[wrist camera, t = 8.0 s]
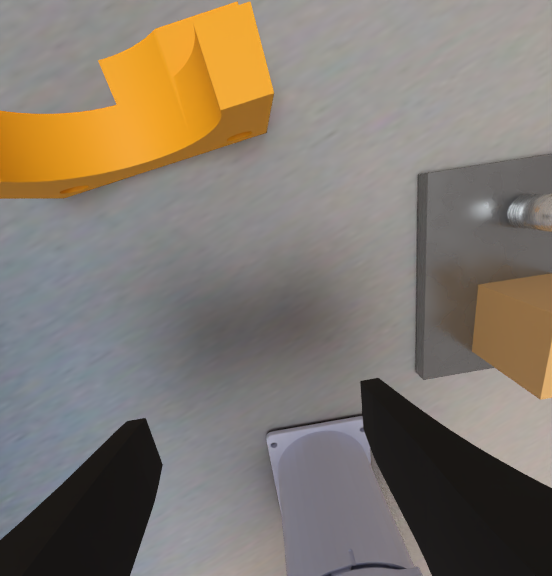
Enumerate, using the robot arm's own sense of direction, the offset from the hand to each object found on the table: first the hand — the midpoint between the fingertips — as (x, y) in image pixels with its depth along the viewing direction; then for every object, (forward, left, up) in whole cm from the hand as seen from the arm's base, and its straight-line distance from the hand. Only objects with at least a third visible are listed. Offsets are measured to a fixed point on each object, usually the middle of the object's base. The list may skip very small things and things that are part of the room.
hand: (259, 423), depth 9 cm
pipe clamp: (+12, +4, -10) cm, 16 cm away
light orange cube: (-3, -17, -9) cm, 19 cm away
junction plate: (0, -17, -10) cm, 20 cm away
